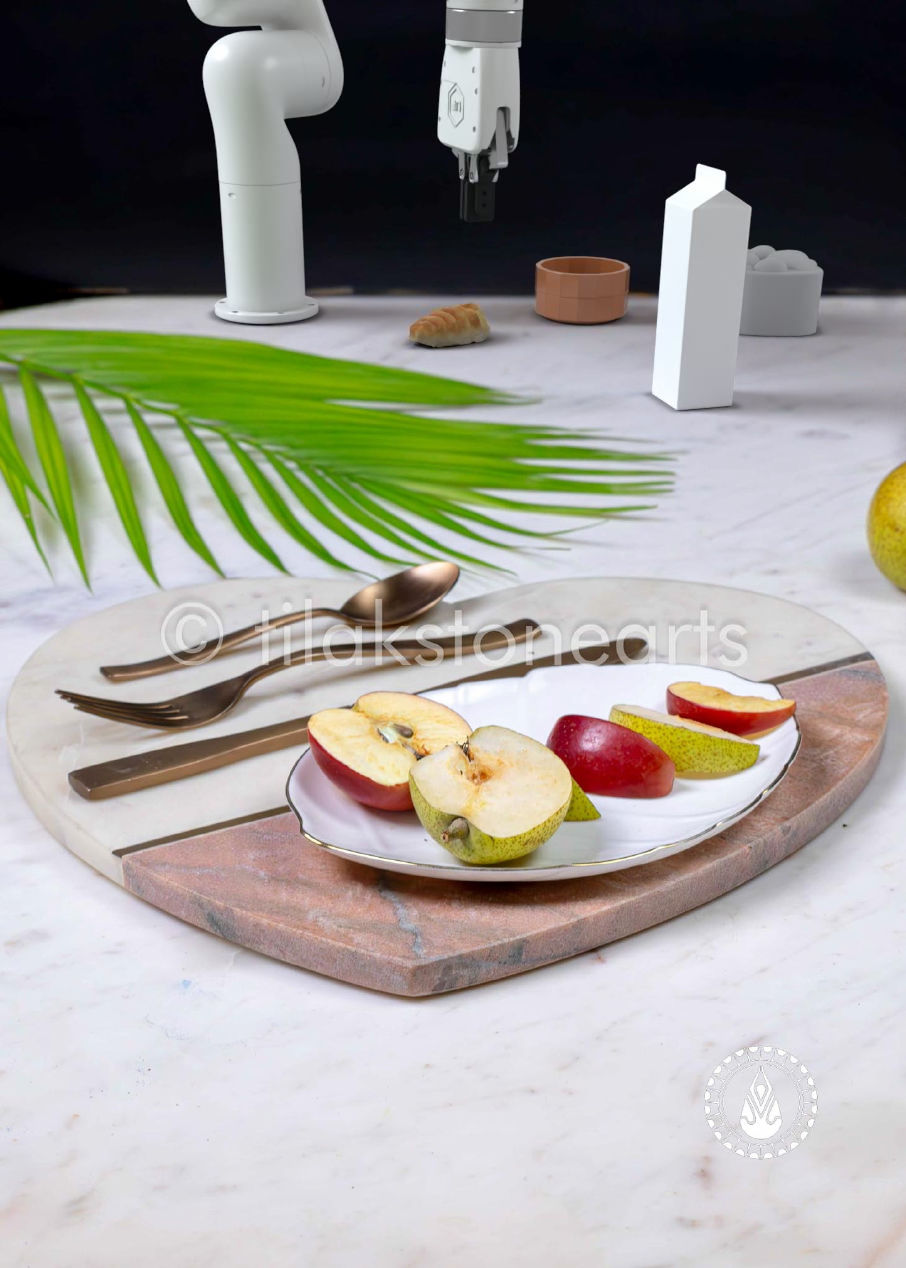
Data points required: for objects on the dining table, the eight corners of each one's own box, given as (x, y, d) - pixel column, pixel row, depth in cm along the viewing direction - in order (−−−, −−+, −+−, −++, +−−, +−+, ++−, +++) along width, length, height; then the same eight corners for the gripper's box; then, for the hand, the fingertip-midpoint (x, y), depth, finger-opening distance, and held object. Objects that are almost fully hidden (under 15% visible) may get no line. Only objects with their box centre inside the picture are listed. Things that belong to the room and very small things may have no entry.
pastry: (434, 353, 150) (433, 318, 148) (394, 342, 154) (393, 308, 153) (495, 339, 156) (495, 306, 154) (455, 329, 160) (455, 296, 158)
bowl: (518, 309, 169) (520, 260, 167) (596, 301, 174) (599, 253, 171) (562, 329, 160) (565, 278, 158) (643, 320, 164) (647, 270, 162)
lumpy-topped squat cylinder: (820, 337, 158) (829, 261, 154) (707, 334, 159) (714, 258, 155) (805, 316, 167) (814, 244, 163) (698, 313, 168) (705, 242, 164)
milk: (676, 411, 131) (694, 173, 121) (650, 394, 137) (666, 164, 127) (733, 406, 133) (756, 170, 123) (706, 389, 138) (725, 161, 128)
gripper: (418, 24, 139) (415, 209, 147) (483, 35, 127) (475, 236, 135) (484, 24, 142) (477, 206, 150) (553, 35, 130) (542, 232, 138)
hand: (476, 220), depth 143 cm, fingers closed
